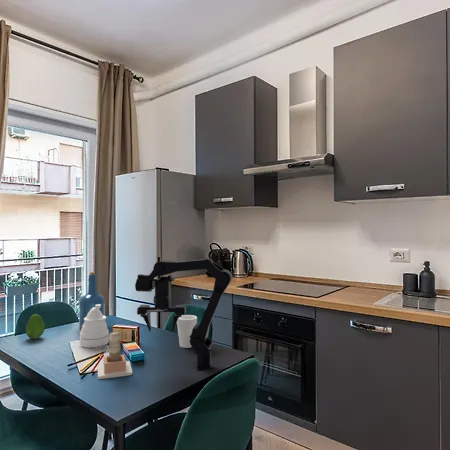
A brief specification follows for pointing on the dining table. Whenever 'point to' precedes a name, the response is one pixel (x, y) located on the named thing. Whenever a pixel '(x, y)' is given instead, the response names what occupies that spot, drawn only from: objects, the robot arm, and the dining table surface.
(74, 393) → the dining table surface
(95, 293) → the wine bottle
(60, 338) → the dining table surface
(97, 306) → the honey pot
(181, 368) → the dining table surface
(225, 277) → the robot arm
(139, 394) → the dining table surface
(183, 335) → the foam cup
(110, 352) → the tan wooden cylinder
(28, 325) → the fruit
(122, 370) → the tan box on base
